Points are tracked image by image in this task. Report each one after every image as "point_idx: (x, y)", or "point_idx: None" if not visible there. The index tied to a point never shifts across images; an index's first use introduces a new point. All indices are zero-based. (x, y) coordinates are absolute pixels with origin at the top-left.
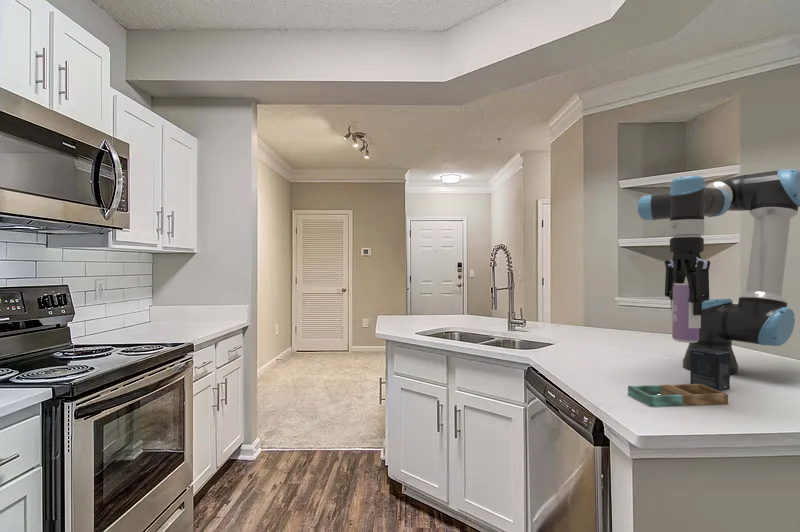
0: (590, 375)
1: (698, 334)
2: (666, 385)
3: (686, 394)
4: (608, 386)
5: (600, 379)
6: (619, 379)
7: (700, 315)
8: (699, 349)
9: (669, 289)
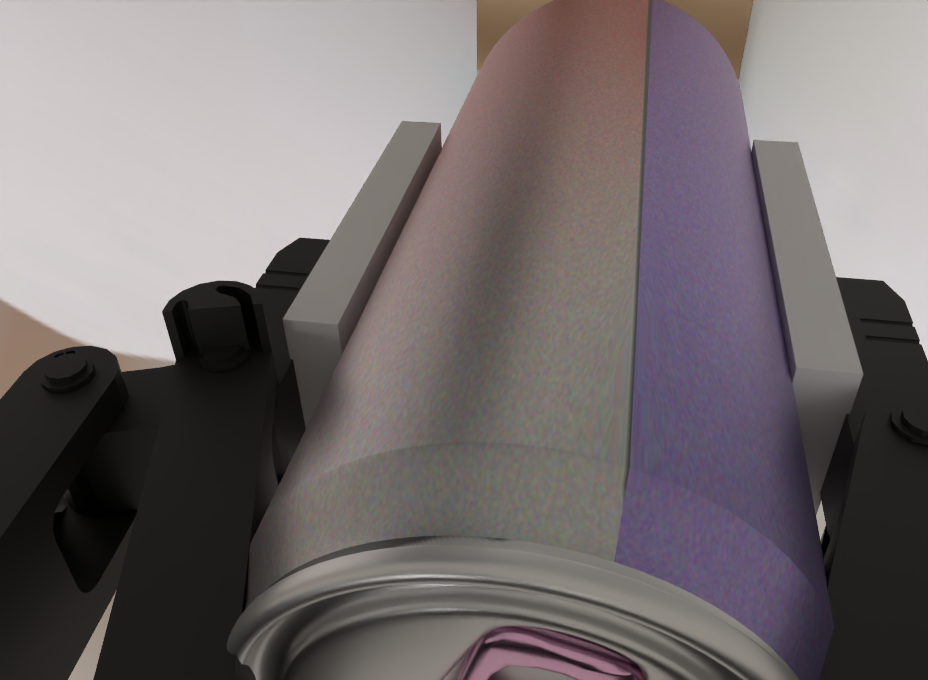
0: (81, 199)
1: (736, 90)
2: (494, 21)
3: (718, 37)
4: (315, 232)
5: (166, 193)
6: (149, 80)
7: (823, 239)
8: None
9: (104, 570)
